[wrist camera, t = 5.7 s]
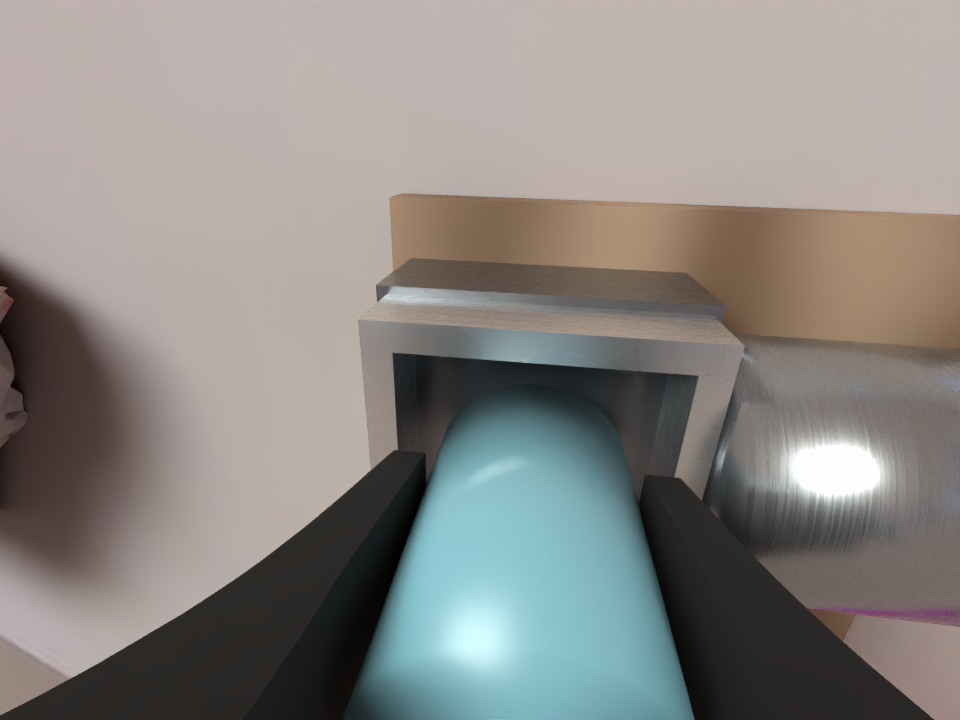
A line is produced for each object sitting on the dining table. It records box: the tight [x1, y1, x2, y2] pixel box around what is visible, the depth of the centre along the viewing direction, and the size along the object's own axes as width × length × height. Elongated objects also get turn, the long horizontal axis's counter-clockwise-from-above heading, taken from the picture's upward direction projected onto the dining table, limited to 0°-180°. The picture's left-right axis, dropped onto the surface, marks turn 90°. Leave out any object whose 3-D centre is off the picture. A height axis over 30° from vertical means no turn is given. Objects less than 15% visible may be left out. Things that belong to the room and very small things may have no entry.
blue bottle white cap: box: [343, 384, 695, 720], centre depth 7 cm, size 4×4×6 cm
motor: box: [358, 258, 960, 627], centre depth 10 cm, size 14×7×6 cm, turn 89°
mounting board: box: [390, 194, 960, 641], centre depth 16 cm, size 15×20×1 cm
